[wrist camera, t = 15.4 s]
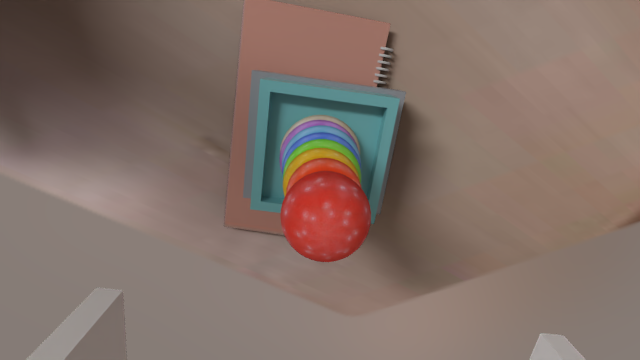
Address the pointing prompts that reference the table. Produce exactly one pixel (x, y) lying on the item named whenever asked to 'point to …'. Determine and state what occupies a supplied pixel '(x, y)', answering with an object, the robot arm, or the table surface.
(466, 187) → the table surface
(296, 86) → the brick base
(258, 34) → the notebook
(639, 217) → the table surface
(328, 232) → the stacking toy
